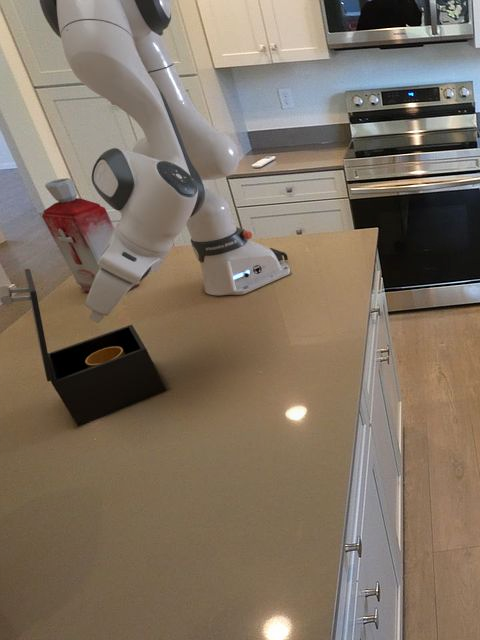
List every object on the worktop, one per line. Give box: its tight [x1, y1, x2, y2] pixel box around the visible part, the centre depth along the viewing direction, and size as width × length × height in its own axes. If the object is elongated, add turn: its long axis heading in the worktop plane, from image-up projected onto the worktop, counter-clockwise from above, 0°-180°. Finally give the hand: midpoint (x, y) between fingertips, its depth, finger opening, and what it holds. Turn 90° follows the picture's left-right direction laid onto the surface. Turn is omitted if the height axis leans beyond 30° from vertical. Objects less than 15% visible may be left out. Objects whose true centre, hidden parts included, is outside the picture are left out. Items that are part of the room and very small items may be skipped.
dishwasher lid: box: [0, 268, 53, 382], centre depth 99 cm, size 16×14×5 cm
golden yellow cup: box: [85, 346, 125, 368], centre depth 111 cm, size 6×6×8 cm
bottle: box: [41, 177, 138, 293], centre depth 151 cm, size 14×10×30 cm
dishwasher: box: [48, 324, 167, 427], centre depth 110 cm, size 16×14×10 cm
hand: (105, 307), depth 104 cm, fingers open, 8 cm apart
